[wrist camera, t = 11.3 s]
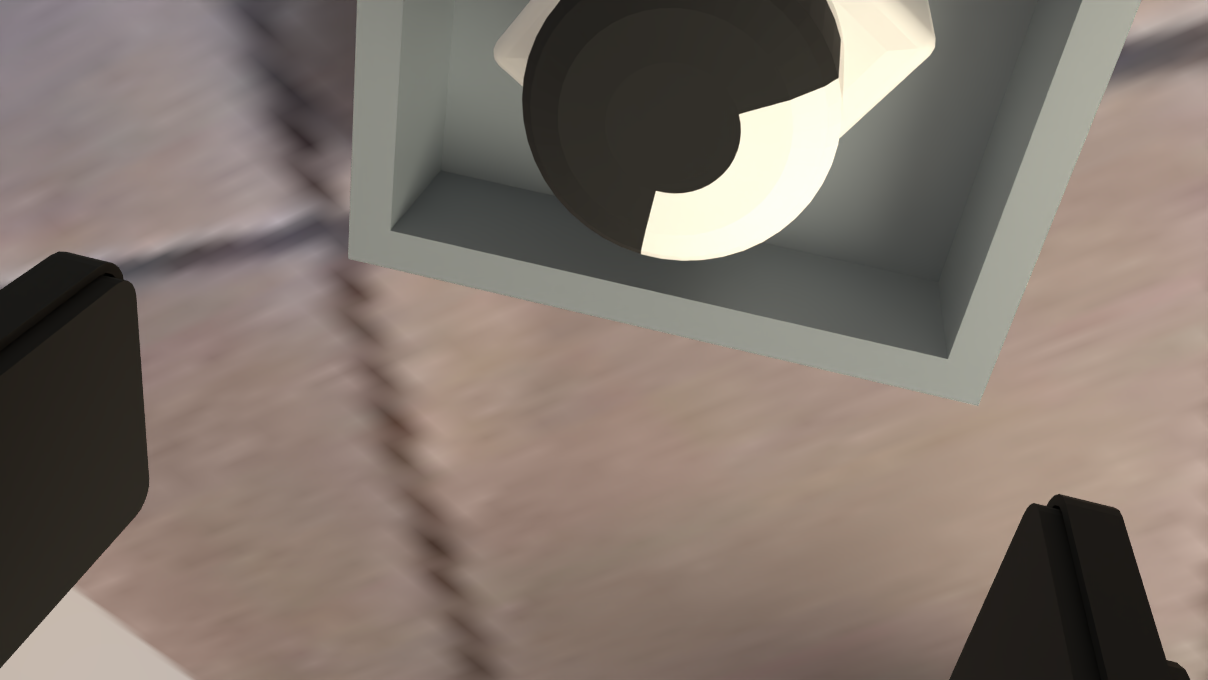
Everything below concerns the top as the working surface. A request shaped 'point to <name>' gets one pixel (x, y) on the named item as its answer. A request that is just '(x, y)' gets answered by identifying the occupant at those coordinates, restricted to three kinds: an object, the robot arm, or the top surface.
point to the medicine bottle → (701, 108)
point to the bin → (790, 257)
